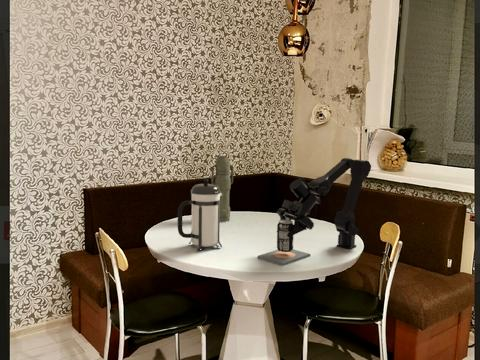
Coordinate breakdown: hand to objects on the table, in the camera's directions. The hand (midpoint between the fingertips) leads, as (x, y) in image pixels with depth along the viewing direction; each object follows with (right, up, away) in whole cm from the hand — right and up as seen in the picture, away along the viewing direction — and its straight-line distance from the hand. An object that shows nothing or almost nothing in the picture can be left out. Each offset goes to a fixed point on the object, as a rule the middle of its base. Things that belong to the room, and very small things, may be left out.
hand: (282, 234), depth 186 cm
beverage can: (+1, -7, +2) cm, 7 cm away
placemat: (+1, -9, +2) cm, 10 cm away
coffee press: (-33, -7, +14) cm, 37 cm away
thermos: (-27, 0, +66) cm, 71 cm away
